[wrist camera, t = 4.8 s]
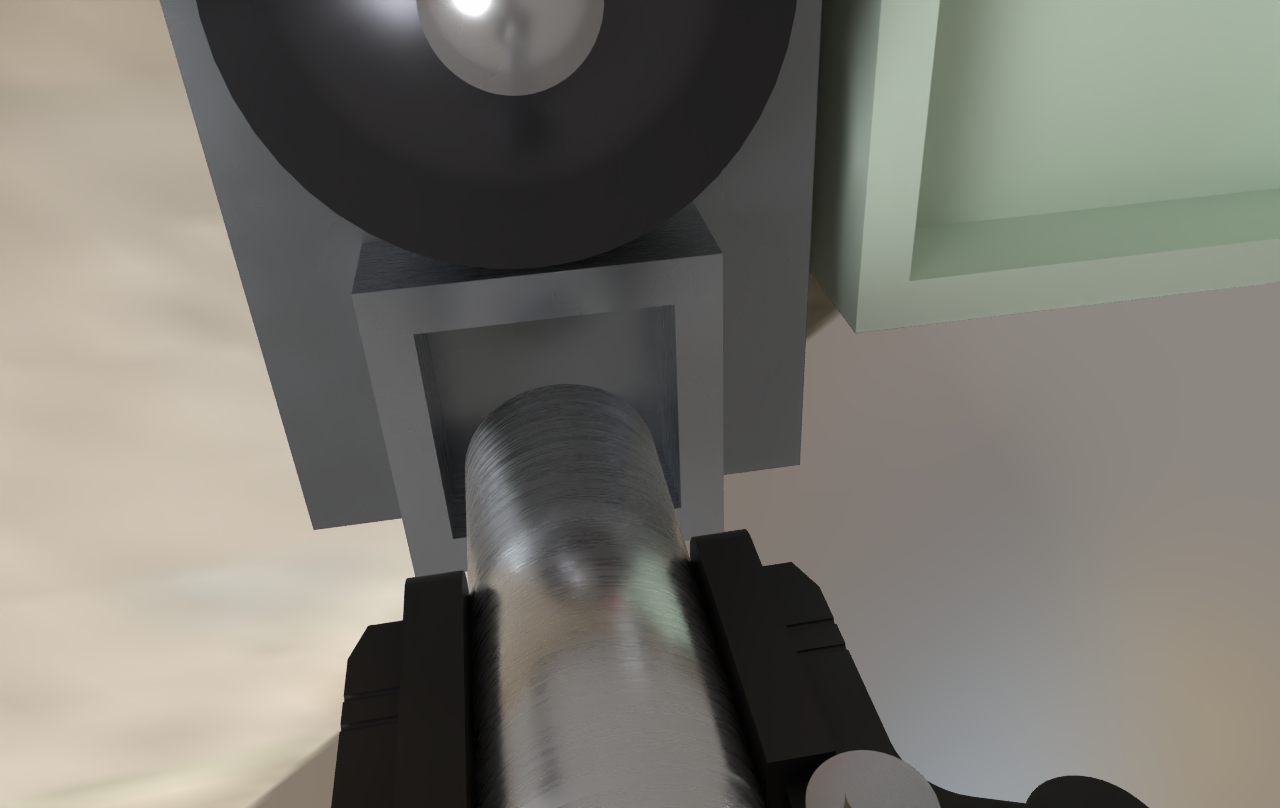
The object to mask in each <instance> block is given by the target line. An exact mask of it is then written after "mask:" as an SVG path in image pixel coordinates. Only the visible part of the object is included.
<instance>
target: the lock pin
mask: <svg viewBox="0 0 1280 808" xmlns="http://www.w3.org/2000/svg"><path fill="white" fill-rule="evenodd" d="M465 488H466V527H467V567H468V589H469V594H470V628H471V664H472V700H473V736H474V772H475V807H476V808H767V807H766V804H765V801H764V798H763V795H762V791H761V788H760V785H759V782H758V779H757V775H756V772H755V769H754V766H753V762H752V759H751V756H750V753H749V749H748V746H747V743H746V740H745V736H744V733H743V730H742V727H741V724H740V720H739V717H738V714H737V711H736V707H735V704H734V701H733V698H732V694H731V691H730V688H729V685H728V682H727V678H726V675H725V672H724V669H723V665H722V662H721V659H720V656H719V652H718V649H717V646H716V643H715V639H714V636H713V633H712V630H711V627H710V623H709V620H708V617H707V614H706V610H705V607H704V604H703V601H702V597H701V594H700V591H699V588H698V584H697V581H696V578H695V575H694V572H693V568H692V565H691V562H690V558H689V555H688V551H687V548H686V545H685V542H684V538H683V535H682V532H681V529H680V525H679V522H678V519H677V516H676V513H675V509H674V506H673V503H672V500H671V496H670V493H669V490H668V487H667V483H666V480H665V477H664V474H663V471H662V467H661V464H660V461H659V458H658V454H657V451H656V448H655V445H654V441H653V438H652V435H651V432H650V430H649V428H648V426H647V424H646V423H645V421H644V420H643V418H642V417H641V415H640V414H639V413H638V412H637V411H636V410H635V409H634V408H633V407H632V406H631V405H629V404H628V403H627V402H626V401H624V400H623V399H621V398H619V397H618V396H616V395H614V394H612V393H609V392H607V391H605V390H602V389H598V388H595V387H591V386H585V385H579V384H556V385H548V386H543V387H538V388H535V389H532V390H528V391H526V392H523V393H521V394H519V395H516V396H514V397H512V398H511V399H509V400H507V401H506V402H504V403H502V404H501V405H500V406H498V407H497V408H496V409H494V410H493V411H492V412H491V413H490V414H489V415H488V416H487V417H486V418H485V419H484V420H483V422H482V423H481V424H480V426H479V427H478V428H477V430H476V432H475V433H474V435H473V437H472V439H471V442H470V444H469V447H468V450H467V454H466V461H465Z"/></svg>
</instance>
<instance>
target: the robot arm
mask: <svg viewBox="0 0 1280 808" xmlns="http://www.w3.org/2000/svg"><path fill="white" fill-rule="evenodd" d="M690 562H691V565H692V568H693V572H694V575H695V578H696V581H697V584H698V588H699V591H700V594H701V597H702V601H703V604H704V607H705V610H706V614H707V617H708V620H709V623H710V627H711V630H712V633H713V636H714V639H715V643H716V646H717V649H718V652H719V656H720V659H721V662H722V665H723V669H724V672H725V675H726V678H727V682H728V685H729V688H730V691H731V694H732V698H733V701H734V704H735V707H736V711H737V714H738V717H739V720H740V724H741V727H742V730H743V733H744V736H745V740H746V743H747V746H748V749H749V753H750V756H751V759H752V762H753V766H754V769H755V772H756V775H757V779H758V782H759V785H760V788H761V791H762V795H763V798H764V801H765V804H766V807H767V808H1149V807H1147V806H1146V805H1145V804H1143V803H1142V802H1141V801H1140V800H1138V799H1137V798H1135V797H1134V796H1133V795H1131V794H1130V793H1128V792H1127V791H1125V790H1123V789H1121V788H1119V787H1117V786H1115V785H1113V784H1111V783H1108V782H1106V781H1103V780H1099V779H1096V778H1092V777H1085V776H1063V777H1057V778H1054V779H1051V780H1048V781H1046V782H1044V783H1043V784H1041V785H1039V786H1038V787H1037V788H1036V789H1035V790H1034V791H1033V792H1032V793H1031V795H1030V796H1029V798H1028V800H1027V802H1026V803H1018V802H1010V801H1002V800H994V799H986V798H978V797H971V796H966V795H960V794H957V793H953V792H950V791H947V790H945V789H942V788H940V787H938V786H936V785H933V784H932V783H930V782H928V781H927V780H926V779H925V778H924V777H923V775H921V774H920V773H919V772H918V771H917V770H916V769H915V768H913V767H912V766H910V765H909V764H907V763H906V762H904V761H903V760H902V759H901V758H900V757H899V755H898V754H897V753H896V751H895V749H894V748H893V746H892V744H891V742H890V740H889V738H888V736H887V733H886V731H885V729H884V727H883V724H882V722H881V720H880V718H879V716H878V714H877V712H876V709H875V707H874V705H873V703H872V701H871V698H870V696H869V694H868V692H867V690H866V687H865V685H864V683H863V681H862V679H861V677H860V674H859V672H858V670H857V668H856V666H855V663H854V661H853V659H852V657H851V655H850V653H849V651H848V650H846V646H845V642H844V639H843V637H842V635H841V633H840V631H839V629H838V626H837V624H835V623H834V618H833V615H832V613H831V611H830V609H829V607H828V605H827V602H826V600H825V598H824V596H823V594H822V592H821V589H820V587H819V586H818V585H817V584H816V583H815V582H813V581H812V580H811V579H810V578H809V577H808V576H807V575H805V574H804V573H803V572H802V571H801V570H800V569H799V568H798V567H796V566H795V565H794V564H793V563H792V562H788V563H782V564H775V565H769V566H762V564H761V562H760V559H759V557H758V554H757V552H756V549H755V547H754V544H753V542H752V539H751V537H750V535H749V533H748V531H747V530H746V529H742V530H735V531H728V532H722V533H715V534H708V535H701V536H694V537H691V541H690ZM331 808H476V807H475V772H474V736H473V700H472V664H471V628H470V594H469V589H468V584H467V579H466V575H465V572H464V570H460V571H453V572H447V573H440V574H433V575H426V576H420V577H413V578H407V579H406V582H405V593H404V612H403V621H396V622H390V623H383V624H377V625H370V626H368V627H367V629H366V630H365V632H364V634H363V635H362V637H361V639H360V640H359V642H358V643H357V645H356V647H355V648H354V650H353V652H352V653H351V655H350V657H349V658H348V662H347V671H346V680H345V689H344V702H343V707H342V716H341V732H340V734H339V743H338V752H337V761H336V770H335V778H334V788H333V797H332V806H331Z"/></svg>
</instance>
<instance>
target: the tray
mask: <svg viewBox="0 0 1280 808" xmlns="http://www.w3.org/2000/svg"><path fill="white" fill-rule="evenodd" d="M809 271H810V272H811V273H812V275H813V276H814V277H815V279H816V280H817V282H818V283H819V284H820V286H821V287H822V288H823V290H824V291H825V292H826V294H827V295H828V297H829V298H830V299H831V301H832V302H833V303H834V305H835V306H836V308H837V309H838V310H839V312H840V313H841V314H842V316H843V317H844V318H845V320H846V321H847V322H848V324H849V325H850V327H851V328H852V329H853V331H854V332H855V333H863V332H871V331H879V330H888V329H896V328H905V327H913V326H921V325H929V324H938V323H946V322H955V321H962V320H971V319H979V318H987V317H996V316H1004V315H1013V314H1021V313H1029V312H1038V311H1046V310H1054V309H1062V308H1071V307H1079V306H1087V305H1096V304H1104V303H1112V302H1120V301H1128V300H1137V299H1146V298H1153V297H1162V296H1170V295H1179V294H1186V293H1195V292H1204V291H1212V290H1219V289H1228V288H1237V287H1245V286H1253V285H1262V284H1270V283H1277V282H1280V0H822V17H821V38H820V59H819V80H818V100H817V121H816V142H815V163H814V184H813V205H812V226H811V247H810V267H809Z"/></svg>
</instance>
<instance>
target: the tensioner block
mask: <svg viewBox="0 0 1280 808" xmlns="http://www.w3.org/2000/svg"><path fill="white" fill-rule="evenodd" d="M160 3H161V6H162V10H163V13H164V17H165V20H166V24H167V27H168V31H169V34H170V37H171V41H172V44H173V48H174V51H175V55H176V58H177V61H178V65H179V68H180V72H181V75H182V79H183V82H184V86H185V89H186V92H187V96H188V99H189V103H190V106H191V110H192V113H193V116H194V120H195V123H196V127H197V130H198V134H199V137H200V141H201V144H202V147H203V151H204V154H205V158H206V161H207V165H208V168H209V171H210V175H211V178H212V182H213V185H214V189H215V192H216V196H217V199H218V202H219V206H220V209H221V213H222V216H223V220H224V223H225V226H226V230H227V233H228V237H229V240H230V244H231V247H232V250H233V254H234V257H235V261H236V264H237V268H238V271H239V275H240V278H241V281H242V285H243V288H244V292H245V295H246V299H247V302H248V305H249V309H250V312H251V316H252V319H253V323H254V326H255V330H256V333H257V336H258V340H259V343H260V347H261V350H262V354H263V357H264V360H265V364H266V367H267V371H268V374H269V378H270V381H271V385H272V388H273V391H274V395H275V398H276V402H277V405H278V409H279V412H280V415H281V419H282V422H283V426H284V429H285V433H286V436H287V440H288V443H289V446H290V450H291V453H292V457H293V460H294V464H295V467H296V470H297V474H298V477H299V481H300V484H301V488H302V491H303V494H304V498H305V501H306V505H307V508H308V512H309V515H310V519H311V522H312V525H313V529H314V530H317V529H325V528H332V527H340V526H347V525H354V524H362V523H369V522H377V521H384V520H392V519H399V518H402V520H403V524H404V529H405V533H406V537H407V542H408V546H409V551H410V555H411V559H412V564H413V568H414V573H415V577H420V576H426V575H433V574H440V573H447V572H453V571H460V570H464V572H466V571H468V567H467V527H466V488H465V461H466V454H467V450H468V447H469V444H470V442H471V439H472V437H473V435H474V433H475V432H476V430H477V428H478V427H479V426H480V424H481V423H482V422H483V420H484V419H485V418H486V417H487V416H488V415H489V414H490V413H491V412H492V411H493V410H494V409H496V408H497V407H498V406H500V405H501V404H502V403H504V402H506V401H507V400H509V399H511V398H512V397H514V396H516V395H519V394H521V393H523V392H526V391H528V390H532V389H535V388H538V387H543V386H548V385H556V384H579V385H585V386H591V387H595V388H598V389H602V390H605V391H607V392H609V393H612V394H614V395H616V396H618V397H619V398H621V399H623V400H624V401H626V402H627V403H628V404H629V405H631V406H632V407H633V408H634V409H635V410H636V411H637V412H638V413H639V414H640V415H641V417H642V418H643V420H644V421H645V423H646V424H647V426H648V428H649V430H650V432H651V435H652V438H653V441H654V445H655V448H656V451H657V454H658V458H659V461H660V464H661V467H662V471H663V474H664V477H665V480H666V483H667V487H668V490H669V493H670V496H671V500H672V503H673V506H674V509H675V513H676V516H677V519H678V522H679V525H680V529H681V532H682V535H683V538H684V541H686V540H691V537H694V536H701V535H708V534H715V533H722V532H724V505H723V504H724V497H723V493H724V491H723V475H727V474H734V473H742V472H749V471H757V470H764V469H772V468H779V467H786V466H794V465H800V449H801V448H800V447H801V428H802V407H803V385H804V364H805V345H806V324H807V303H808V282H809V261H810V240H811V219H812V198H813V177H814V156H815V135H816V114H817V93H818V72H819V51H820V30H821V9H822V0H160Z"/></svg>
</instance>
